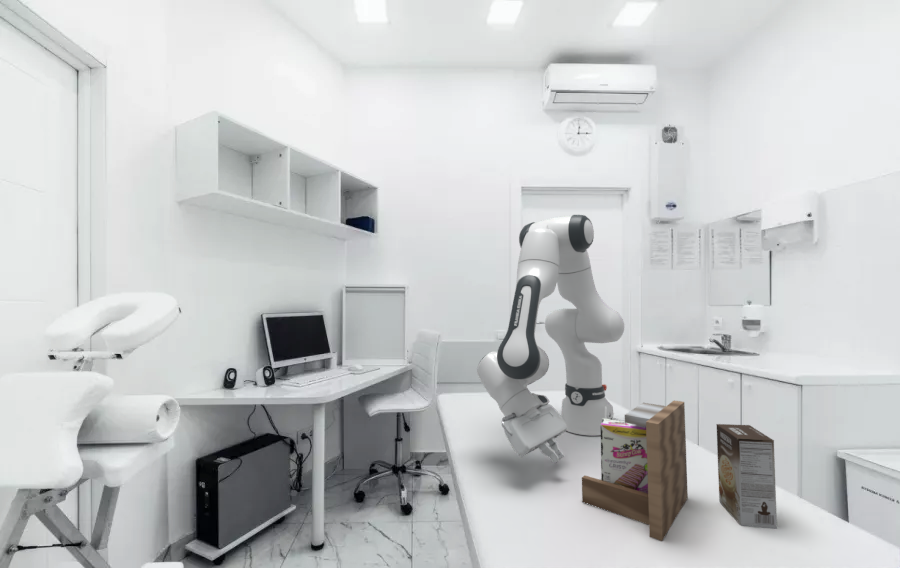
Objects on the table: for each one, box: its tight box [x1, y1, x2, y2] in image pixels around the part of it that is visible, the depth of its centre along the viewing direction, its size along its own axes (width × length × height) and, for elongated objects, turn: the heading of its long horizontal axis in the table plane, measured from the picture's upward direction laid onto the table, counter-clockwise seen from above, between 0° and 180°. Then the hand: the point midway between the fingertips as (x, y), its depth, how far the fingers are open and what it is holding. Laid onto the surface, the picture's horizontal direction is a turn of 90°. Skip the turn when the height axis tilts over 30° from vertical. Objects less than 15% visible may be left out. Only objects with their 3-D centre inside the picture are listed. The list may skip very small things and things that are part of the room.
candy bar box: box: [600, 418, 648, 494], centre depth 82 cm, size 11×5×16 cm, turn 65°
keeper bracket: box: [581, 400, 689, 542], centre depth 82 cm, size 20×16×20 cm
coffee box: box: [716, 423, 778, 529], centre depth 78 cm, size 9×6×16 cm
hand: (559, 459), depth 93 cm, fingers closed
